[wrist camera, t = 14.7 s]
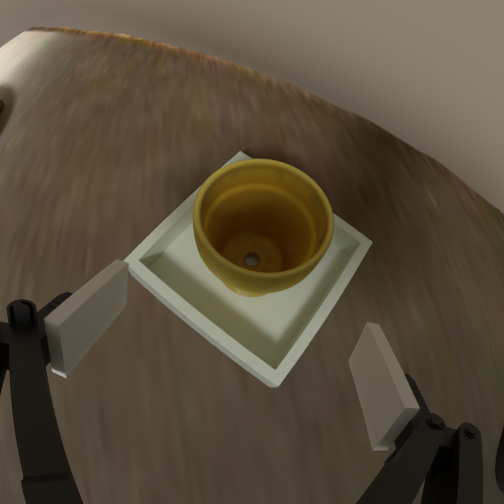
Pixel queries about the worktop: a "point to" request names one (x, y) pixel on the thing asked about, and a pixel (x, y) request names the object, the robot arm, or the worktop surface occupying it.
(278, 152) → the worktop surface
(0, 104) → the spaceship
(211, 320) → the tray
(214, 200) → the plant pot
